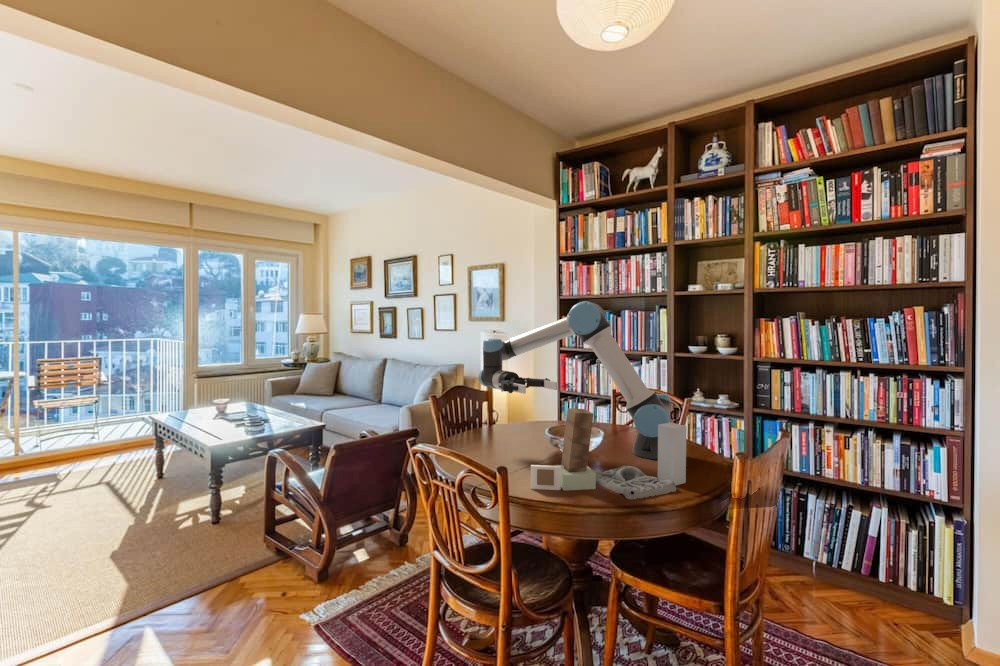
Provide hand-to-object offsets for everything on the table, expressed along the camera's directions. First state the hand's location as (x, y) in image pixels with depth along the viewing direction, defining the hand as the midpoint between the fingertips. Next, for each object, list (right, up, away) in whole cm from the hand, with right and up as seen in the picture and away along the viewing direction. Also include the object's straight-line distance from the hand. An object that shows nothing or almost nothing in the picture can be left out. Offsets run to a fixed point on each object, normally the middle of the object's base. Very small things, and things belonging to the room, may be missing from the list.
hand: (541, 387), depth 165 cm
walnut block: (+9, -23, -14) cm, 28 cm away
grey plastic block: (+40, -28, -12) cm, 51 cm away
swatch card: (0, -29, -18) cm, 34 cm away
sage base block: (+9, -29, -14) cm, 33 cm away
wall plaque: (+27, -29, -13) cm, 42 cm away
